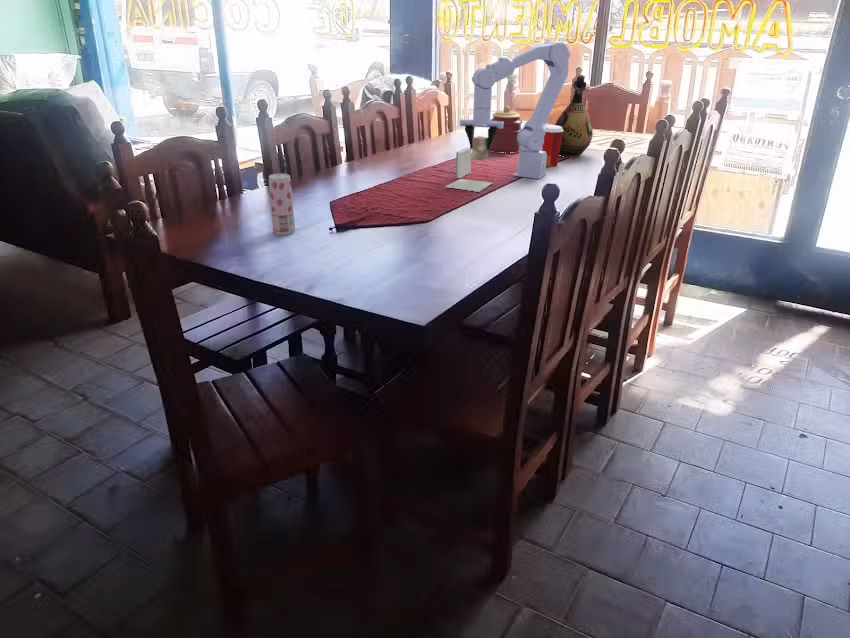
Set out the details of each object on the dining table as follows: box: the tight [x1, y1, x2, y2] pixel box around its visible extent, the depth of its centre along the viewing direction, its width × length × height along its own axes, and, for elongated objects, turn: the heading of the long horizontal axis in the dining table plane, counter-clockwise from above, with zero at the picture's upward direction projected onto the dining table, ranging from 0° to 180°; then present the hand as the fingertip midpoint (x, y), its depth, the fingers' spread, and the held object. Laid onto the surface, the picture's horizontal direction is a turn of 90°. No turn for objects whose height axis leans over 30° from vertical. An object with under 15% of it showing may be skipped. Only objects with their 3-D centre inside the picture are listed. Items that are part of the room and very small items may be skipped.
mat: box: [444, 178, 494, 193], centre depth 219 cm, size 12×12×1 cm
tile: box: [455, 147, 472, 179], centre depth 230 cm, size 2×9×9 cm, turn 153°
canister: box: [489, 105, 523, 153], centre depth 267 cm, size 13×13×18 cm
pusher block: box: [471, 135, 489, 161], centre depth 225 cm, size 4×4×7 cm
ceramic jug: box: [554, 74, 594, 159], centre depth 258 cm, size 17×15×30 cm
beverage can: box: [268, 172, 296, 236], centre depth 172 cm, size 6×6×15 cm
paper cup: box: [541, 124, 563, 168], centre depth 245 cm, size 8×8×14 cm
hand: (480, 149), depth 225 cm, fingers closed on pusher block, 5 cm apart
